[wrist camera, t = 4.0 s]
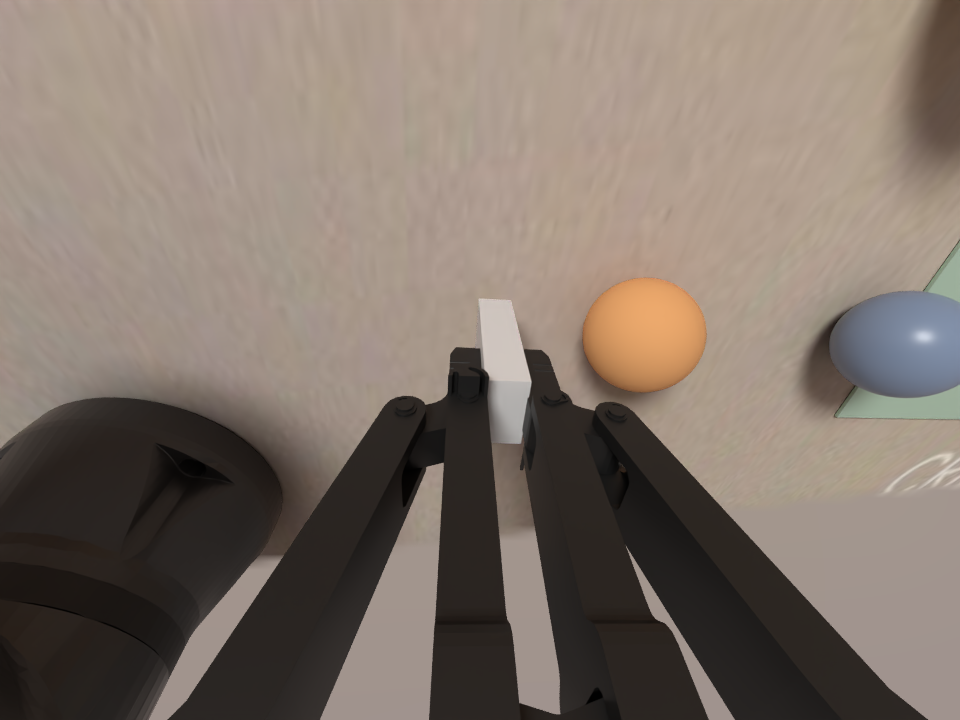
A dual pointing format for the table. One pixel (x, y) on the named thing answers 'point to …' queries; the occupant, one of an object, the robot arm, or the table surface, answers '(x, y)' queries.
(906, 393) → the ball
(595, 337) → the ball
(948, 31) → the table surface
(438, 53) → the table surface
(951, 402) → the mark
